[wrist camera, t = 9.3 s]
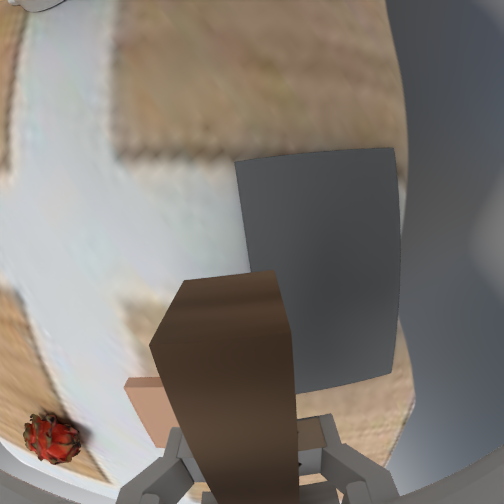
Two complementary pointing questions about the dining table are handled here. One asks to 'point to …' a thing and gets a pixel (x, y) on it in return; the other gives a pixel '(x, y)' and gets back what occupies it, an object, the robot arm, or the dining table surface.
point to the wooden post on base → (236, 388)
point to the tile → (152, 407)
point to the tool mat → (329, 256)
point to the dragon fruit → (51, 439)
